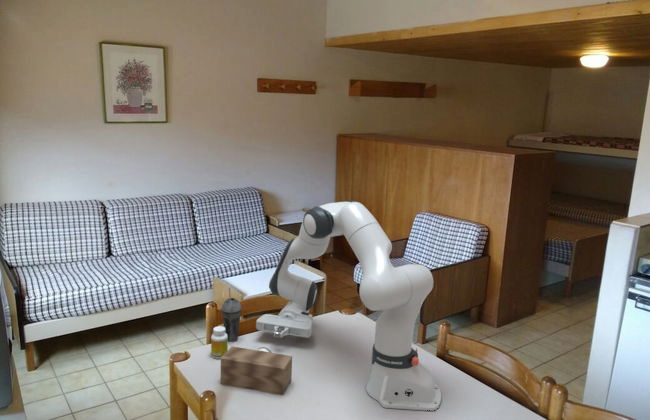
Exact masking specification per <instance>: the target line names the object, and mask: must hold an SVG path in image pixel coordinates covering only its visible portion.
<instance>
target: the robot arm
mask: <svg viewBox="0 0 650 420" xmlns="http://www.w3.org/2000/svg"><path fill="white" fill-rule="evenodd" d="M302 219H303V220H302V222H301V225H300V228H299V229H300V230H299V233H298V235H297V237H296V238H292V239H290V240H289V242H288V243H287V244H286V246H285V247H284V248H285V249H284V250H283V252H282V254H281V257H280V259H279V262H278V263H277V265H276V269H275V271H274V273H273V274H272V275H271V277H270V280H269V283H268V288H269V291H270V292H271V294H272V295H273V296H277V297H281V298H285V299H287V300H289V301H288V302H287V303H286V304H285V306H284V307H283V308H282V309H281V310H280V312H279V313H278V314H277V315H275V314H269V313H265V314H263V315H261V316H260V317H259V318H257V320H256V321H255V329H256V330H257V331H261V332H267V333H268V332H269V333H273V337H274V338H281V339H282V338H283V337H286V336H291V337H292V336H294V337H300V338H301V337H302V338H306V339H308V338H310V337H311V336H312V334H313V314H311V313H309V311H310V310H311V309H312V307H314V305H315V302H316V300H317V297H318V293H319V292H318V291H319V290H318V286H317V284H316V282H315V281H314V280H312V279H308V278H305V277H302V276H300V275H297V274H295V273H292V272H290V271H289V270H288V269H289V268H290V266H291V263H292V261H293V260H297V259H298V260H299V259H301V260H302V259H303V260H314V259H317V258H319V257H321V256H322V255H324V254H325V253H326V252H327V249H328V247H329V244H330V240H331V238H332V237H338V236H344V237H345V239H346V241H347V242H348V245H349V246H350V248H351V249H352V251H353V253H354V254H355V256H356V258H357V260H358V261H359V264H360V267H361V270H362V280H361V282H360V285H359V288H358V289H359V298H360V300H361V302H362V304H363V306H365V308H367V309H369V311H374V312H375V311H378V312H379V311H382V313H381V314H380V315H379V316H378V317H377V319H376V322H375V329H374V330H375V332H374V343H373V345H372V349H371V364H372V365H371V369H370V374H369V377H368V380H367V383H366V386H365V391H366V392H367V394H368V395H369V396H370V397H371V398H372V399H374V400H375V401H377V402H378V404H380V406H381V407H383V408H385V409H399V410H411V411H412V410H413V411H414V410H415V411H426V412H427V410H428V411H429V410H430V411H431V412H435V411H436V410H438V409H437V408H440V406H441V404H440V403H442V391H441V389H440V387H439V386H438V384H436V383H435V380H434V376H433V374H432V372H431V370H430V369H428V368H427V367H426V366H425V365H423V364H422V363H421V362H419V361H420V359H419V353H418V348H415V349H414V348H413V338H414V329H415V324H416V321H417V318H418V315H419V312H420V310H421V307H422V306H423V303H424V301H425V300H426V298H427V296H428V295H429V294H430V292H432V290H433V288H434V278H433V274H432V272H431V270H430V269H429V268H428V267H427V266H426V265H424V264H419V263H418V264H413V263H412V264H411V263H407V264H403V265H400V266H396V267H395V266H393V264H392V262H391V259H390V254H391V253H392V249H393V245H392V242H391V240H390V239H389V236H388V235H387V234H386V233H385V231H384V230H383V228H382V226H381V225H380V224H379V222H378V221H377V219H376V217H375V216H374V215H373V214H372V213H371V212H370V211H369V210H368V208H366V206H365V205H364V204H362V203H361V202H359V201H357V200H345V201H337V202H329V203H325V204H322V205H319V206H318V205H317V206H312V207H311V208H309V209H308V210H306V212H305V213H304V215H303V218H302ZM439 405H440V406H439ZM434 410H435V411H434ZM430 411H429V412H430Z"/></svg>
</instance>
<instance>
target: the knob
mask: <svg viewBox="0 0 650 420" xmlns="http://www.w3.org/2000/svg"><path fill="white" fill-rule="evenodd" d="M257 350H258V351H264V352H270V353H273V351H272V349H271V348H270V347H268V346H260V347H259V348H258V349H257Z"/></svg>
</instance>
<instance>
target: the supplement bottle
mask: <svg viewBox="0 0 650 420" xmlns="http://www.w3.org/2000/svg"><path fill="white" fill-rule="evenodd" d="M212 330H213V331H212V334H211V337H210V342H211V343H210V345H211V346H210V352H211V353H210V354H211V357H212V358H213V359H216V360H221V357H222V356H223V355H224V354H225V353H226V352H227V351H228V350H229V349H228V344H229V342H228V336H227V334H226V333H225V327H224V325H223V326H221V325H217V326H215V327H213V329H212Z"/></svg>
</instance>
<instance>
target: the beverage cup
mask: <svg viewBox="0 0 650 420" xmlns="http://www.w3.org/2000/svg"><path fill="white" fill-rule="evenodd" d="M228 296H229V297H228V298H227V299H226V300H224V301H223V303H222V304H221V315H222V322H223V323H222V325H223V327H225V333H226V334H227V336H228V343H235V342H238V340H239V339H238V338H239V332H240V322H241V314H242V311H243V308H242V305H241V302H240V301H239V300H238V298H234V297H232V294H231V287H228Z"/></svg>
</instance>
